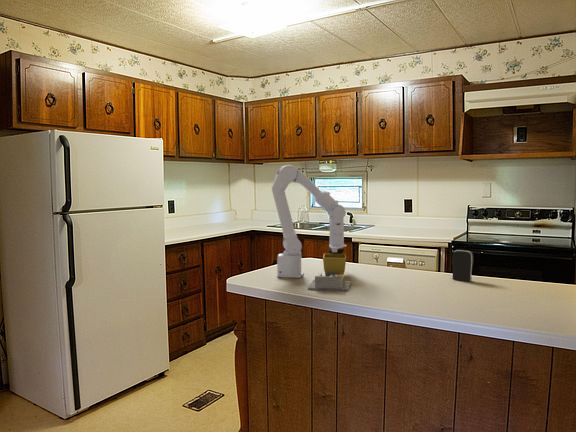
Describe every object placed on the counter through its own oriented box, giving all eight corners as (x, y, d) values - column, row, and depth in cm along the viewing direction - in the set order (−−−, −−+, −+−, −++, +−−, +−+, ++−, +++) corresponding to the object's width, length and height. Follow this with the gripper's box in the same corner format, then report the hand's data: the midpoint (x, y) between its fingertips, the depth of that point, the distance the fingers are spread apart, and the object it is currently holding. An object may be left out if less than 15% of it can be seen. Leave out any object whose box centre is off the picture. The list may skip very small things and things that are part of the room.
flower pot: (346, 281, 170) (346, 257, 169) (322, 280, 171) (322, 257, 170) (345, 276, 178) (345, 253, 178) (323, 275, 179) (323, 253, 179)
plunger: (320, 286, 159) (320, 275, 159) (324, 280, 169) (324, 269, 169) (344, 287, 157) (344, 276, 157) (346, 281, 167) (346, 270, 167)
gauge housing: (307, 289, 157) (307, 276, 157) (313, 281, 169) (313, 269, 169) (347, 291, 154) (347, 278, 154) (350, 283, 166) (350, 270, 166)
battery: (473, 280, 169) (474, 250, 168) (470, 282, 166) (471, 251, 165) (455, 277, 173) (455, 248, 172) (451, 279, 170) (452, 250, 169)
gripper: (344, 236, 173) (344, 271, 174) (348, 231, 187) (348, 263, 188) (326, 236, 175) (326, 270, 176) (331, 231, 189) (331, 263, 190)
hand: (336, 267), depth 182 cm, fingers closed
